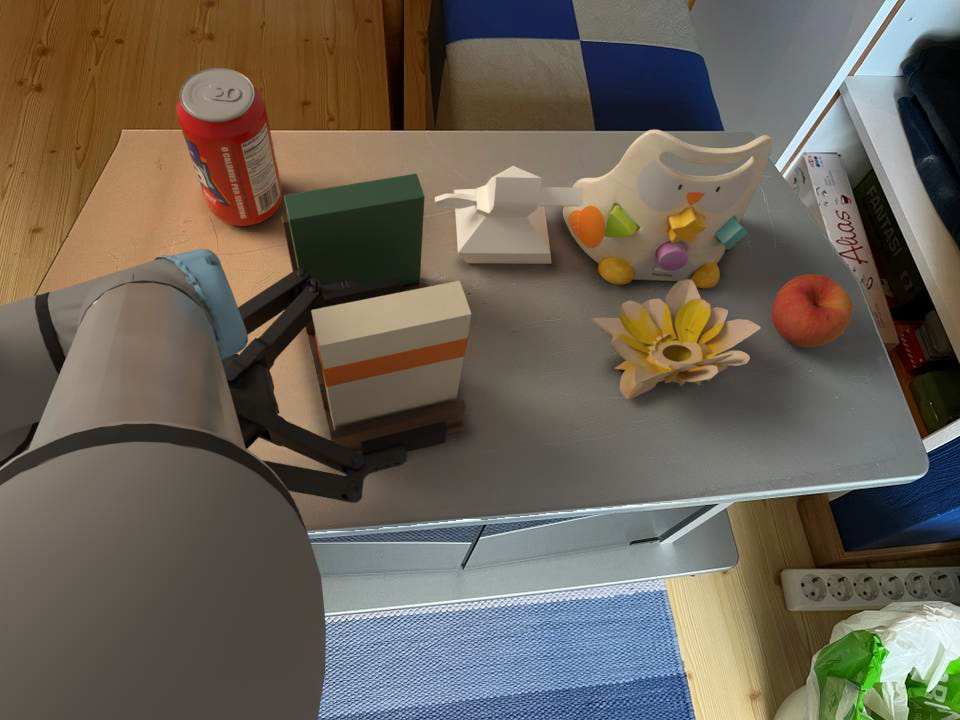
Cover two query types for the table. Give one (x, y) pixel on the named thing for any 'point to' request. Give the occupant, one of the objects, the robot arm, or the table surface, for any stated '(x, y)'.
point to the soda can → (230, 145)
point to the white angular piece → (506, 218)
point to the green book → (359, 231)
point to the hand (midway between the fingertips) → (422, 357)
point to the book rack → (385, 426)
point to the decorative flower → (674, 340)
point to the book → (392, 352)
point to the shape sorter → (666, 211)
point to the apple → (811, 310)
